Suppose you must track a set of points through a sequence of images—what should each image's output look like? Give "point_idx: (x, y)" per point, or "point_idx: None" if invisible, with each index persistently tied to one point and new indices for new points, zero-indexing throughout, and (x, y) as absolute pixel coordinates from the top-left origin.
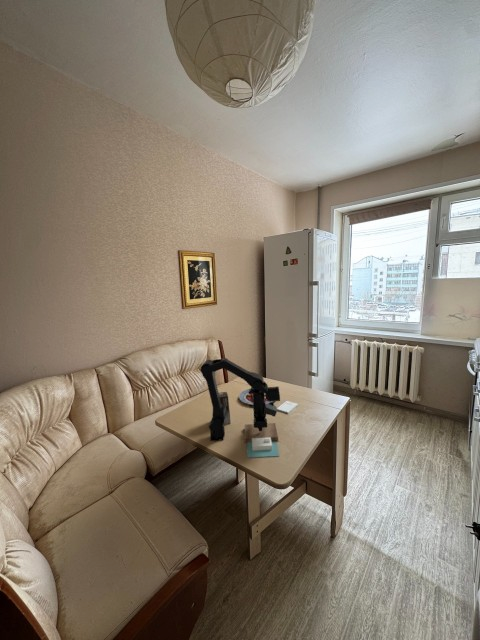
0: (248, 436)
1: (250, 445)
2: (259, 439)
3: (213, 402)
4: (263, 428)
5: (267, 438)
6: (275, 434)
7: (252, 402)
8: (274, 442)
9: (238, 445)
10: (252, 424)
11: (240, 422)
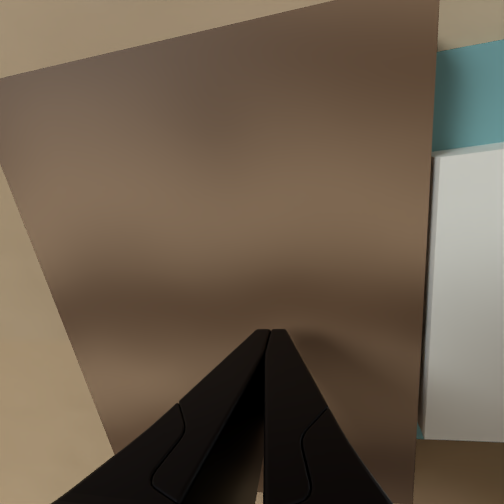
0: (367, 466)
1: None
2: (475, 348)
3: None
4: (164, 283)
5: (472, 219)
6: (336, 52)
7: None
8: (455, 88)
9: (432, 497)
10: (101, 411)
11: (64, 463)
